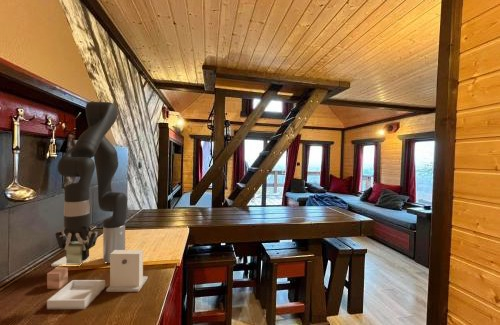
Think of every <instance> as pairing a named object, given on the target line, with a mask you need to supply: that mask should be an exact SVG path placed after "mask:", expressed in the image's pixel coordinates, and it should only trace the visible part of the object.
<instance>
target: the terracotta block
mask: <svg viewBox="0 0 500 325" xmlns="http://www.w3.org/2000/svg"><path fill="white" fill-rule="evenodd" d="M68 268H69V267H54V268H53V269H52V270H50V271H49V272H47V273H46V288H47V290H50V289H52V290H53V289H54V290H55V289H57V290H58V289H60V290H61V289H62V288H63V287H64V286H66V285H67V284H68V283H69V276H68V275H69V272H68V271H69V269H68Z"/></svg>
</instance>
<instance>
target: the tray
mask: <svg viewBox="0 0 500 325" xmlns="http://www.w3.org/2000/svg"><path fill="white" fill-rule="evenodd" d="M105 288H106V280H105V279H72V280H71V281H69V282H67V283H66V284H65V285H64V286H62V287H61V288H60V290H58V291H57V292H56V293H54V294H53V295H52V296H50V297H49V298H48V299H47V300H46V309H47V311H48V310H86V309H87V307H88V306H90V304H91V303H92V302H93V301H94V300H95V299H96V298H97V297H98V296H99V295H100V293H101V292H102V291H104V289H105Z"/></svg>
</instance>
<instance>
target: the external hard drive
mask: <svg viewBox="0 0 500 325" xmlns="http://www.w3.org/2000/svg"><path fill="white" fill-rule="evenodd" d="M89 258H91V256H90V257H88V258H87V259H86V260H88V259H89ZM91 259H92V258H91ZM86 260H84V261H86ZM84 261H83V262H84ZM88 261H89V260H88ZM83 262H81V263H83ZM81 263H67V261H66V255H65V256H63V257H61V258H59V259H58V260H56V261H53V263H51V265H50V266H51V267H54V268H57V267H56V266H59V265H62V264H66V265H80V264H81Z"/></svg>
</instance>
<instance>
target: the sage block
mask: <svg viewBox="0 0 500 325" xmlns="http://www.w3.org/2000/svg"><path fill="white" fill-rule="evenodd" d="M65 256H66V261H67V263H81V262H83V261H84V260H82V245H80V244H79V242H78V241H75V242H74V243H72V244H70V245H68V246H67V247H66V250H65Z"/></svg>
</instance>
